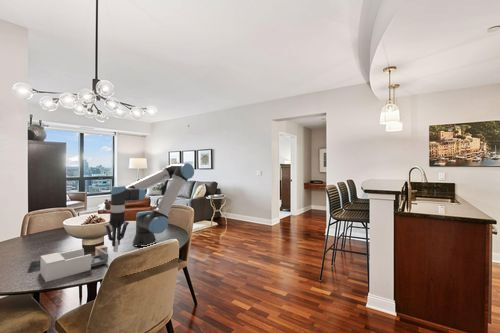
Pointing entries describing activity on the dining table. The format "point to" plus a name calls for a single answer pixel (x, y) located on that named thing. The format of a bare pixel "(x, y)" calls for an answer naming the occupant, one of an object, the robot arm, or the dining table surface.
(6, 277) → the dining table surface
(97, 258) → the tray
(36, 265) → the smartphone
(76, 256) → the white drawer housing
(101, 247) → the oak block
